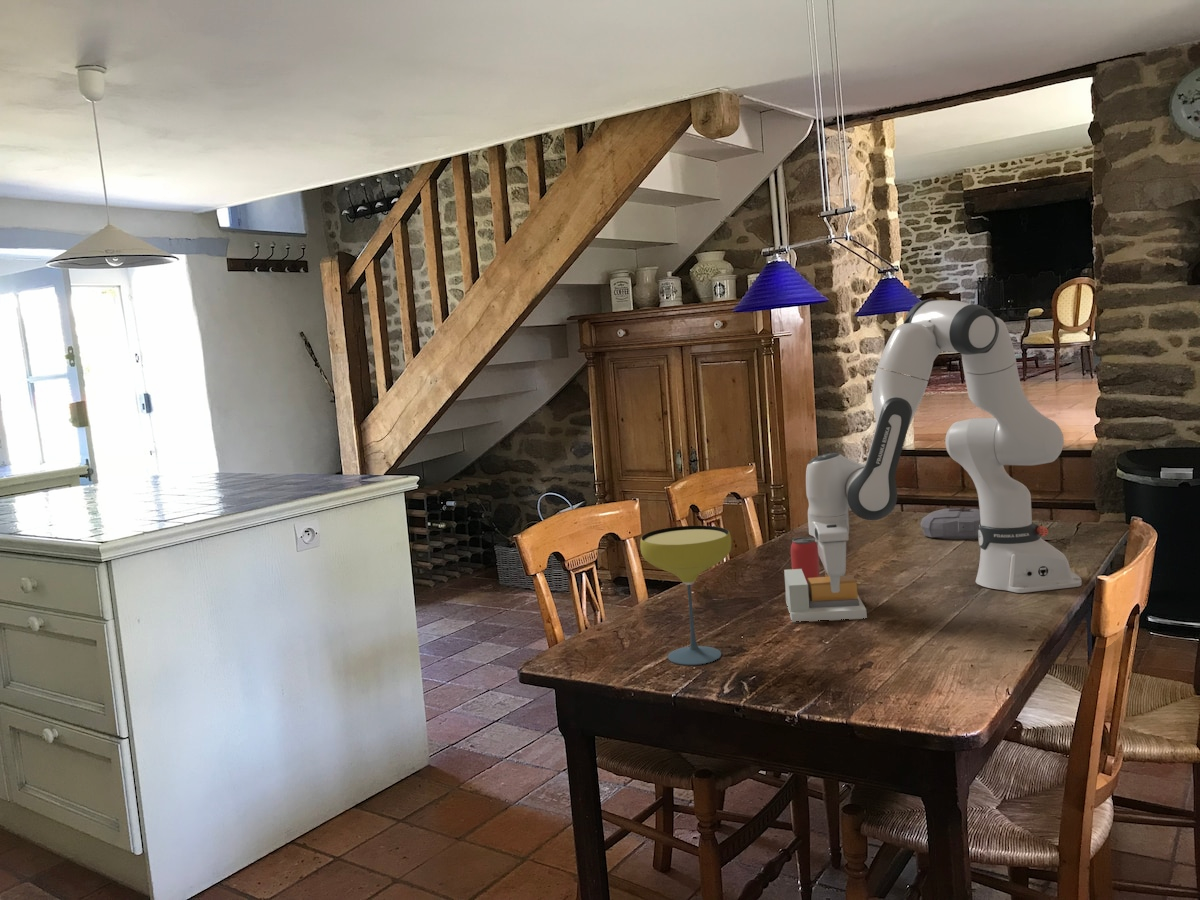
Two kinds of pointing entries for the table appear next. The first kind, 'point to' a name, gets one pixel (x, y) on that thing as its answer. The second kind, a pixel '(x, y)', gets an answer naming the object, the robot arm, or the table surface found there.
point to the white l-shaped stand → (817, 602)
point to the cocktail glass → (687, 570)
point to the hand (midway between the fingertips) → (832, 586)
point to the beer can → (805, 556)
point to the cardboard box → (822, 590)
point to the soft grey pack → (952, 523)
